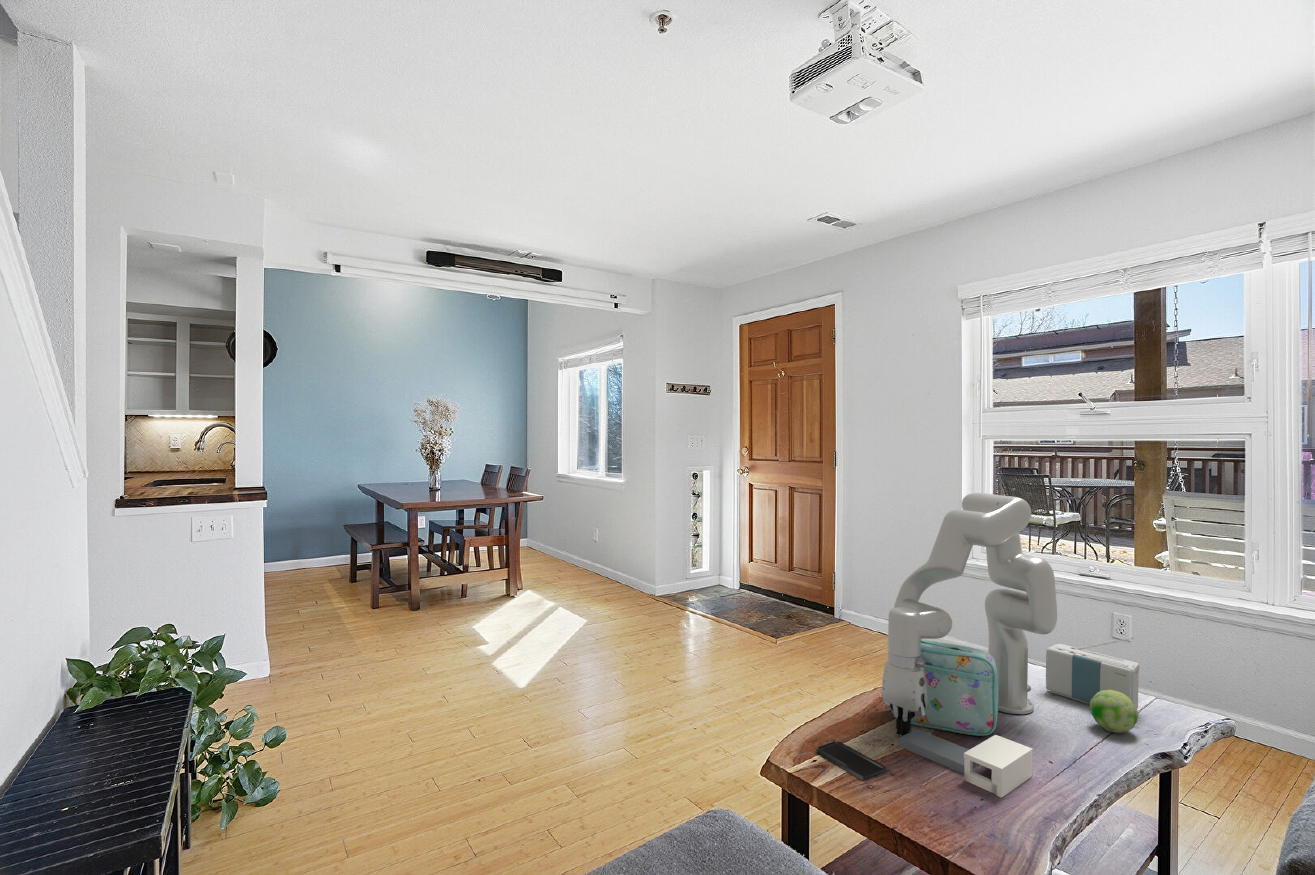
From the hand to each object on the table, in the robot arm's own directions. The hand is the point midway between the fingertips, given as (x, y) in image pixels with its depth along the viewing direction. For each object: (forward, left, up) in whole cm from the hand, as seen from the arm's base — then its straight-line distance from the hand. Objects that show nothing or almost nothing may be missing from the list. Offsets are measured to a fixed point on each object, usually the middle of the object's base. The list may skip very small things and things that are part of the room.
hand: (903, 734), depth 158 cm
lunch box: (-14, +1, -1) cm, 14 cm away
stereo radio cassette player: (-61, +19, -1) cm, 64 cm away
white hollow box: (0, +22, -1) cm, 22 cm away
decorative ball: (-46, +29, -1) cm, 55 cm away
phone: (+20, -1, -2) cm, 20 cm away
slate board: (0, +10, -2) cm, 10 cm away
